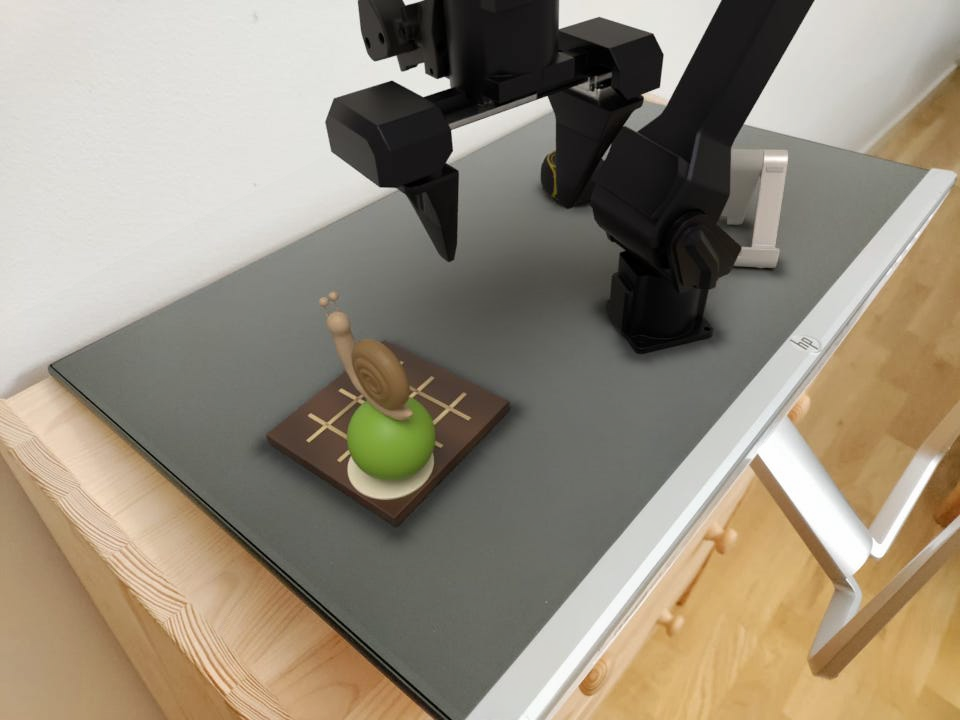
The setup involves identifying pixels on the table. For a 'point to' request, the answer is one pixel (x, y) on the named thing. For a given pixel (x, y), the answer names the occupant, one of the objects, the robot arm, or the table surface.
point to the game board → (325, 417)
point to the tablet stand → (742, 187)
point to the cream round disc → (387, 482)
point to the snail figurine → (381, 407)
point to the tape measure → (550, 178)
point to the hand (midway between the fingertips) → (508, 231)
